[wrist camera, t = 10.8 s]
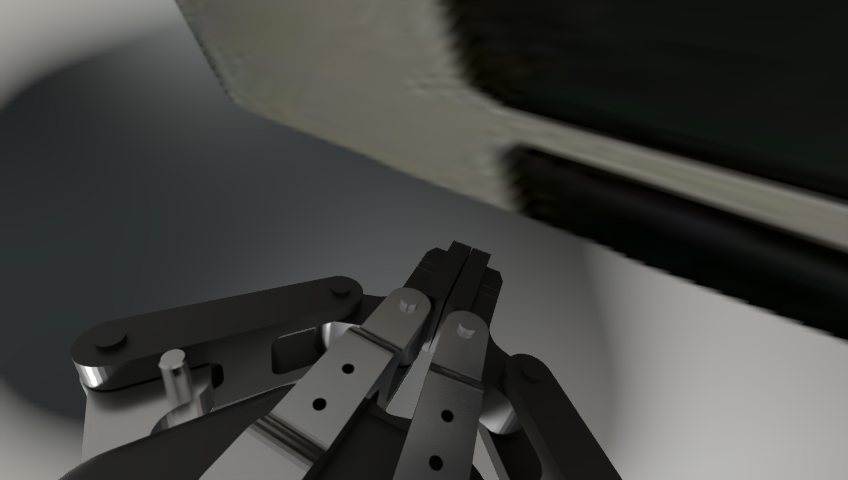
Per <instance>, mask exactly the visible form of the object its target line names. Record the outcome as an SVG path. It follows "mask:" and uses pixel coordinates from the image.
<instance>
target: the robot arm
mask: <svg viewBox="0 0 848 480" xmlns="http://www.w3.org/2000/svg"><path fill="white" fill-rule="evenodd" d="M470 252H471V253H470ZM469 254H470V255H469ZM490 256H491V254H488V253H486V252H483V251H481V250H478V249H475V248H473V249H472V251H471V247H470V246H467V245H465V244H462V243H459V242H457V241H453V243H452V245H451V246H450V248H449V249H448V251H445V250H442V249H439V248H434V249H432V250H430V251H428V252H427V253H426V254H425V256H424V257H423V259H422V261H421V262H420V263H419V264H418V266H417V267H416V269H415V270H414V272H413V273H412V275H411V276H410V278H409V279H408V280H407V282H406V283H405V285H404V286H403V288H398V289H396V290H394V291H392V292H391V293H390V294H389V295H388V296H385V297H378V296H372V295H365V294H363V289H362V287H361V285H360V284H359V283H358V282H357V281H355V280H353V279H351V278H348V277H343V276H334V277H328V278H324V279H319V280H313V281H309V282H303V283H298V284H293V285H288V286H283V287H278V288H273V289H269V290H263V291H258V292H253V293H248V294H243V295H238V296H233V297H228V298H222V299H217V300H213V301H207V302H202V303H197V304H192V305H187V306H183V307H177V308H172V309H167V310H162V311H157V312H152V313H147V314H142V315H137V316H132V317H127V318H122V319H117V320H112V321H107V322H104V323H101V324H99V325H96V326H94V327H92V328H90V329H89V330H87V331H85V332H84V333H83V334H82V335H80V336H79V337H78V338H77V339H76V340H75V342H74V343H73V346H72V347H71V352H70V353H71V357H72V359H73V361H74V364H75V366H76V368H77V370H78V372H79V374H80V382H81V384H82V386H83V388H84V390H85V392H86V395H87V405H86V416H85V426H84V436H83V446H82V457H81V464H80V465H78V466H77V467H75V468H74V469H72V470H71V471H69V472H68V473H67V474H65V475H64V476H63V477H61V478H60V479H59V480H484V479H483V478H482V476H481V474H480V473H479V472H478V470H477V469H476V468H475V467H474V465H473V464H472V461H473V454H474V448H475V442H476V436H477V430H479V432H480V435H481V437H482V440H483V442H484V444H485V446H486V449H487V451H488V454H489V456H490V458H491V461H492V463H493V465H494V468H495V470H496V473H497V475H498V477H499V480H622V479H621V477H620V475H619V474H618V472H617V471H616V470H615V468H614V466H613V465H612V464H611V462H610V461H609V459H608V457H607V456H606V454H605V453H604V451H603V450H602V448H601V447H600V445H599V444H598V442H597V441H596V439H595V438H594V436H593V435H592V433H591V432H590V430H589V429H588V427H587V426H586V424H585V423H584V421H583V420H582V418H581V417H580V415H579V413H578V412H577V410H576V409H575V407H574V406H573V404H572V403H571V401H570V400H569V398H568V397H567V395H566V394H565V392H564V391H563V389H562V388H561V386H560V385H559V383H558V382H557V380H556V379H555V378H554V376H553V374H552V373H551V371H550V370H549V368H548V367H547V366H546V365H545V364H544V363H543V362H541V361H540V360H539V359H537V358H535V357H533V356H530V355H526V354H516V355H513V356H509V355H508V354H507V353H505V352H504V351H502V350H501V349H500V348H499V347H498V346H497V345H496V344H495V342H494V341H493V339H492V337H491V335H490V331H489V327H490V323H491V320H492V316H493V313H494V310H495V306H496V303H497V299H498V296H499V293H500V289H501V286H502V282H503V281H502V278H501V275H500V272H499V271H496V270H494V269H491V268H488V267H486V266H487V264H488V261H489V258H490ZM312 327H315V329H312V330H308V331H305V332H301V333H297V334H293V335H290V336H286V337H283V338H279V337H280V336H283V335H286V334H290V333H293V332H297V331H301V330H305V329H309V328H312ZM277 338H279V339H277ZM433 340H434V341H433ZM432 342H433V344H432ZM431 344H432V347H431V350H430V353H431V354H433V357H432V361H431V363H430V366H429V369H428V372H427V375H426V377H425V380H424V383H423V387H422V389H421V392H420V395H419V398H418V401H417V404H416V407H415V410H414V413H413V417H412V419H407V418H403V417H398V416H394V415H390V414H388V413H387V412H386V409H387V408H388V406H389V404H390V402H391V401H392V399H393V398H394V396H395V394H396V393H397V391H398V390H399V388H400V386H401V385H402V383H403V381H404V380H405V378H406V377H407V375H408V373H409V372H410V370H411V368H412V366H413V363H414V361H415V360H416V359H417V357H418V355H419V353H420V351H421V349H422V350H424V351H426V352H428V350H429V348H430V346H431ZM298 379H301V380H300V381H299V382H298V383H296V384H290V385H286V386H281V387H278V388H275V389H273V390H270V391H267V392H265V393H262V394H259V395H257V396H254V397H251V398H249V399H246V400H243V401H241V402H238V403H235V404H232V405H230V406H227V407H224V408H222V409H219V410H216V411H214V412H211V410H212V408H215V407H218V406H221V405H224V404H226V403H230V402H233V401H236V400H238V399H241V398H244V397H247V396H250V395H253V394H256V393H259V392H262V391H265V390H268V389H271V388H274V387H277V386H280V385H283V384H286V383H289V382H292V381H295V380H298ZM210 412H211V413H210Z"/></svg>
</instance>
